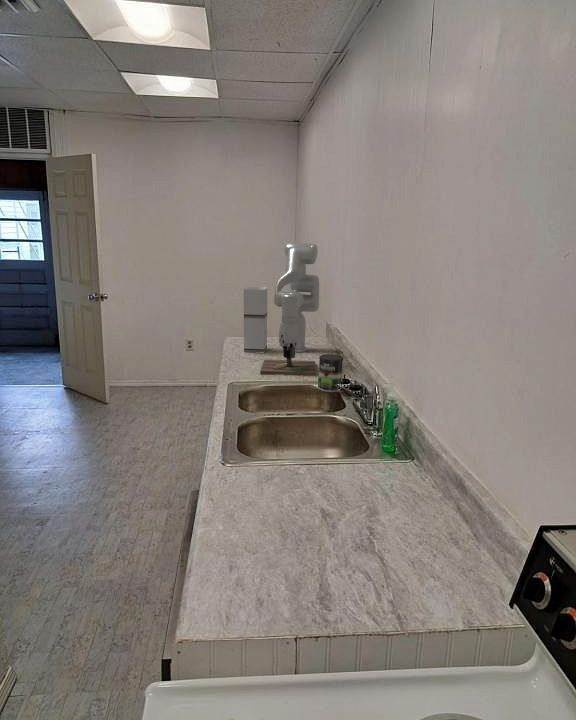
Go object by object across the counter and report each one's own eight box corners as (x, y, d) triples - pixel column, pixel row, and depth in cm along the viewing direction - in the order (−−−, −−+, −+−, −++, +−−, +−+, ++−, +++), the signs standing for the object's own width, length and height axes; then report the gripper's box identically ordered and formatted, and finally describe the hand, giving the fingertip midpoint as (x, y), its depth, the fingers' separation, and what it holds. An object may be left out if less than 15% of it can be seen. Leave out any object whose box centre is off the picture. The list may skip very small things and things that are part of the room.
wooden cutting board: (264, 362, 263) (264, 357, 262) (314, 363, 262) (315, 358, 261) (260, 374, 241) (260, 368, 241) (315, 375, 240) (315, 369, 240)
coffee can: (336, 393, 214) (338, 361, 211) (314, 389, 219) (315, 357, 215) (345, 387, 223) (347, 356, 220) (324, 383, 228) (325, 353, 224)
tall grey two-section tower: (267, 348, 294) (267, 287, 285) (264, 352, 283) (264, 289, 275) (247, 347, 295) (247, 286, 286) (243, 352, 284) (243, 288, 276)
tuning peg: (287, 363, 254) (287, 345, 252) (296, 365, 251) (296, 347, 248) (271, 367, 247) (271, 348, 244) (280, 369, 243) (281, 350, 240)
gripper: (294, 317, 254) (294, 353, 258) (272, 320, 242) (272, 358, 247) (306, 319, 249) (305, 355, 254) (284, 323, 237) (283, 361, 242)
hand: (288, 356), depth 250 cm, fingers closed on tuning peg, 2 cm apart
